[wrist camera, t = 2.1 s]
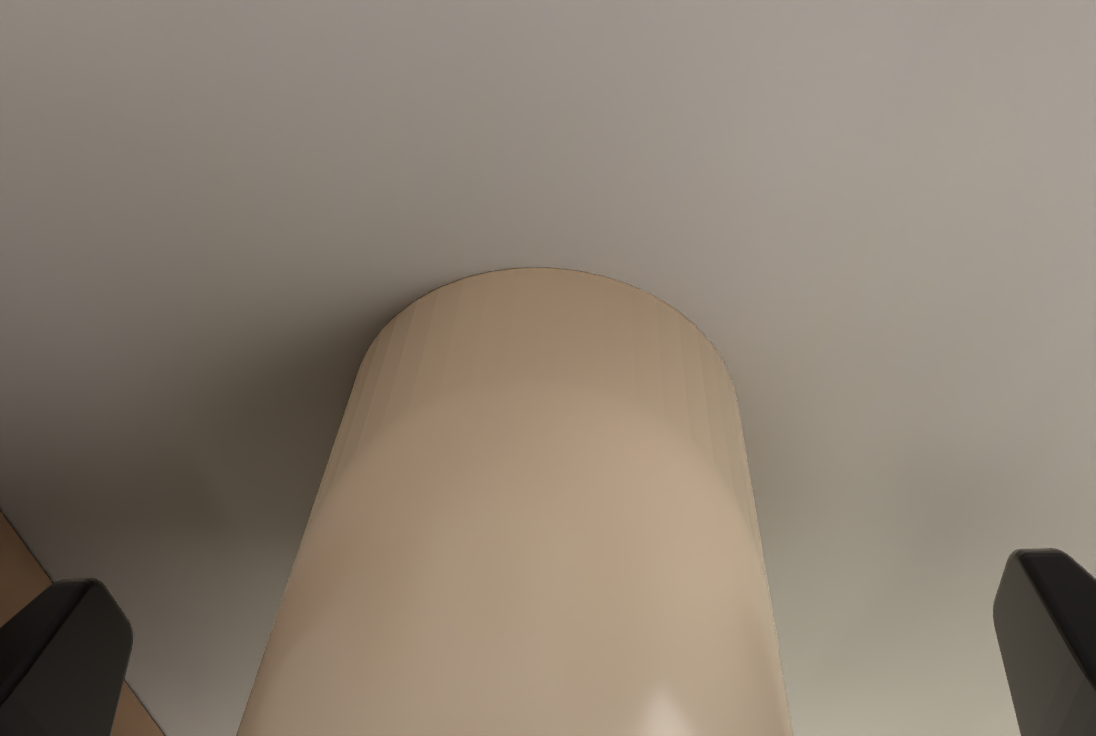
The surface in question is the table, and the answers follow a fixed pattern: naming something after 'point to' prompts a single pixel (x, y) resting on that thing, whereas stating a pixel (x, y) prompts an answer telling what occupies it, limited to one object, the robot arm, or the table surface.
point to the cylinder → (530, 531)
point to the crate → (16, 579)
